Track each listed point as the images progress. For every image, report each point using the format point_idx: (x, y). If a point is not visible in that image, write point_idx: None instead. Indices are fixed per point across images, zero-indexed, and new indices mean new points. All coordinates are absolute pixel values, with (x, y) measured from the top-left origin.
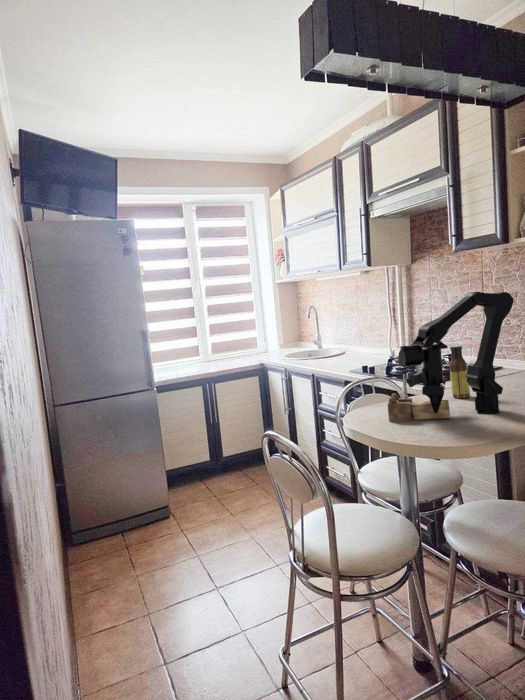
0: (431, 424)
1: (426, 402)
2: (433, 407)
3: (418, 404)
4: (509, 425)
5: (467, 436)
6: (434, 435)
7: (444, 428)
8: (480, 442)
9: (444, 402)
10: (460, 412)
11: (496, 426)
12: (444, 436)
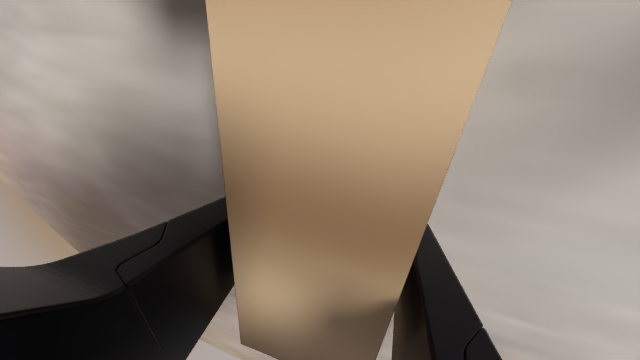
0: (194, 104)
1: (314, 192)
2: (218, 207)
3: (210, 38)
4: (236, 345)
5: (78, 208)
6: (16, 89)
7: (139, 159)
8: (46, 220)
9: (245, 328)
10: (496, 335)
11: (219, 318)
12: (31, 131)
